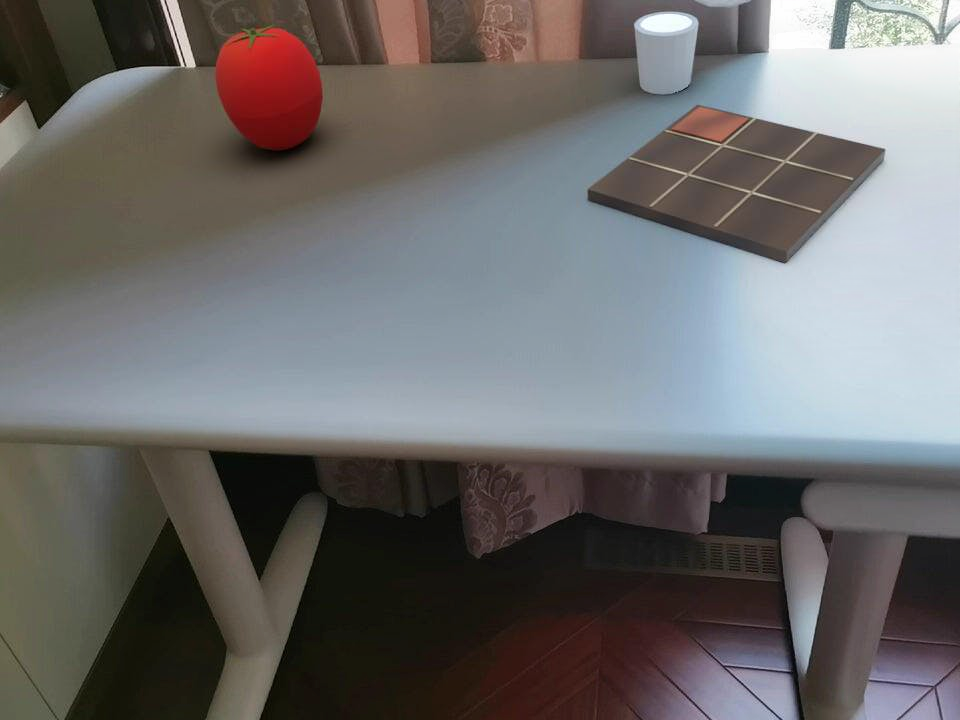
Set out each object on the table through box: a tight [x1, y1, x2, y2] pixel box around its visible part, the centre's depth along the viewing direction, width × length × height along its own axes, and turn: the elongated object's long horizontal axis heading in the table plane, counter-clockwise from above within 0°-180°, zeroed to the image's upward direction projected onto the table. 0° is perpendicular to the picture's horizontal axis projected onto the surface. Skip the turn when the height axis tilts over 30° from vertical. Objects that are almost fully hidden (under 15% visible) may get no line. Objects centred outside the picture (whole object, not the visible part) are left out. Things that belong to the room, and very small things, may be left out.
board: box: [587, 104, 886, 264], centre depth 90 cm, size 20×20×1 cm
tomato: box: [214, 24, 324, 151], centre depth 102 cm, size 11×11×13 cm
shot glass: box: [633, 11, 699, 95], centre depth 106 cm, size 7×7×7 cm
